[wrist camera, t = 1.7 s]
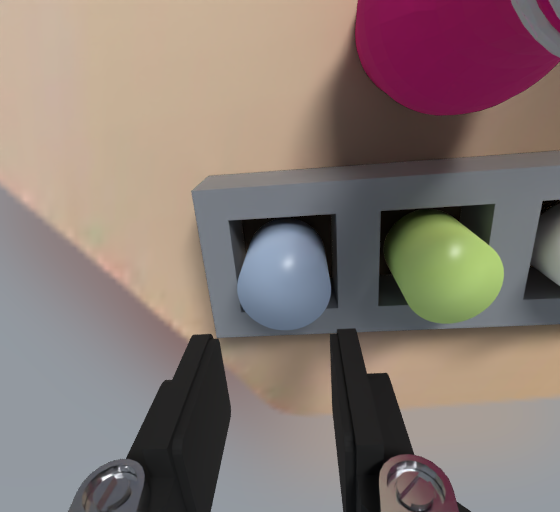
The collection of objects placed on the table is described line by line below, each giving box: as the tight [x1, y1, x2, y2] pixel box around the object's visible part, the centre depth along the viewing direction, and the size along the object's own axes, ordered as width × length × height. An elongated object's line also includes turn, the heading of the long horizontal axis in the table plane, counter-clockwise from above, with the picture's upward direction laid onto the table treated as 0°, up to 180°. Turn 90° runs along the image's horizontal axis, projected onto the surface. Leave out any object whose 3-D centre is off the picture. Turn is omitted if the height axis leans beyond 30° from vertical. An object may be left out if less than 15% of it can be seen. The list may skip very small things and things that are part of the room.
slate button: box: [237, 218, 331, 330], centre depth 18 cm, size 4×4×4 cm
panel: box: [191, 151, 560, 338], centre depth 19 cm, size 22×8×4 cm, turn 95°
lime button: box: [383, 209, 504, 324], centre depth 17 cm, size 4×4×4 cm
